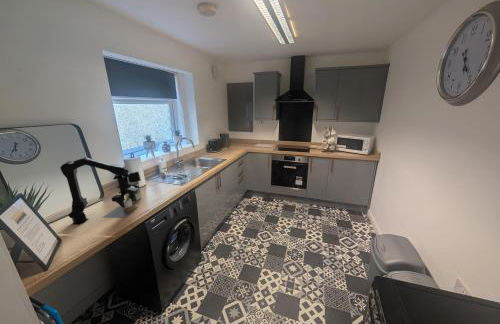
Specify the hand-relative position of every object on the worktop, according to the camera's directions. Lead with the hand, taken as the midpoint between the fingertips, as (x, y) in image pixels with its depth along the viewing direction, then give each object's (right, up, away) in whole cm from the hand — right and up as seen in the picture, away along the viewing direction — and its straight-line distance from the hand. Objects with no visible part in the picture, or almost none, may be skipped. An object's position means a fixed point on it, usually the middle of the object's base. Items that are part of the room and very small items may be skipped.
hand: (128, 204), depth 132 cm
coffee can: (-6, 0, +18) cm, 19 cm away
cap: (0, -2, +1) cm, 2 cm away
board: (-4, -6, -1) cm, 7 cm away
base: (0, -4, +1) cm, 4 cm away
